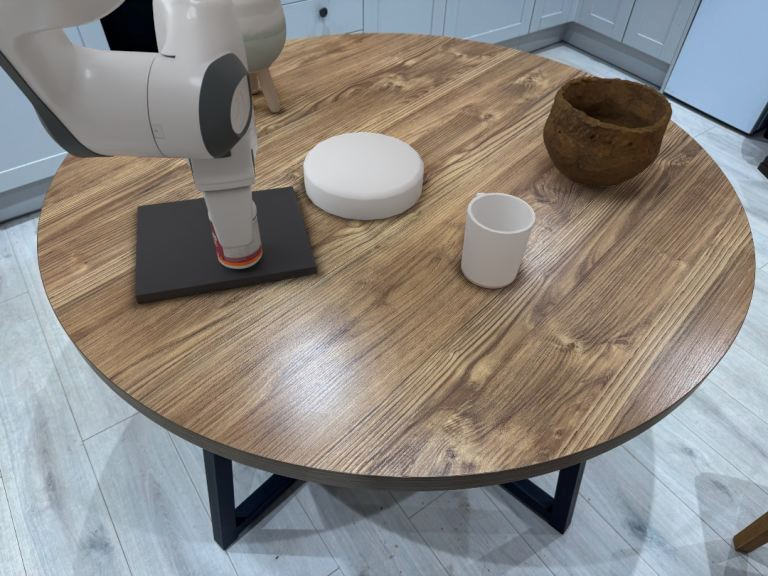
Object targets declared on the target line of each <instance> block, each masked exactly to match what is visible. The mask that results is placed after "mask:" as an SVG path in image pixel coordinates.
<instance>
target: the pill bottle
mask: <svg viewBox="0 0 768 576" xmlns="http://www.w3.org/2000/svg"><path fill="white" fill-rule="evenodd" d="M252 209H253V241H252V243H251V244H250V245H248V246H245V249H244V250H240V251H232V250H231V248H229V249H225V248H223V247H222V246H221V244H220V243H219V241H218V238H217V235H216V232H215V230H214V227H213V224H212V221H211V218H210V215H209V212H208V215H209V220H210V224H211V229H212V233H213V238H214V243H215V247H216V252H217V256H218V259H219V261H220V263H222V264H223V265H224V266H226V267H228V268H233V269H243V268H248V267H250V266H252V265H254V264H255V263H257V262H258V261H259V259H260V258H261V256H262V244H261V238H260V232H259V224H258V218H257V209H256V205H255V203H254V201H253V200H252Z"/></svg>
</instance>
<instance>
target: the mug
mask: <svg viewBox="0 0 768 576" xmlns="http://www.w3.org/2000/svg"><path fill="white" fill-rule="evenodd" d="M535 222H536V213H535V211H534V209H533V207H532V206H531V204H528V203H527V201H525V200H524V199H521V198H519V197H517V196H515V195H511V194H508V193H503V192H487V193H485V192H482V191H481V192H478V193H475V196H474V198H472V199H471V200H470V201H469V203H468V206H467V209H466V217H465V227H464V234H463V244H462V251H461V252H462V253H461V261H460V269H461V272H462V274H463V276H464V277H465V278H466V279H467V280H468V281H469V282H470V283H472V284H473V285H475V286H478V287H480V288H483V289H490V290H491V289H492V290H495V289H502V288H505V287H507V286H509V285H510V284H512V283H513V282H514V281H515V280H516V278H517V275H518V272H519V270H520V267H521V263H522V260H523V258H524V255H525V252H526V249H527V246H528V243H529V240H530V237H531V235H532V232H533V228H534V225H535Z"/></svg>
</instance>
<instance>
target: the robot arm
mask: <svg viewBox="0 0 768 576" xmlns="http://www.w3.org/2000/svg"><path fill="white" fill-rule="evenodd" d="M125 1H126V0H0V67H1V69H2V70H3V71H4V72H5V74H6V75H7V76H8V77H9V78H10V79H11V81H12V82H13V83H14V84H15V85H16V87H17V88H18V89H19V91H21V92H22V94H23V95H24V96H25V98H26V99H27V101H29V102H30V104H31V105H32V108H33V110H34V112H35V113H36V116H37V118H38V120H39V122H40V124H41V125H42V126H43V129H44V130H45V131H46V133H47V134H48V135H49V137H50V138H51V139H52V140H53V141H54V142H55V143H56V145H58V146H59V147H60V148H62V149H63V150H64V151H65V152H66V153H68V154H70V155H71V156H73V157H76V158H79V159H86V158H88V159H89V158H92V159H93V158H113V157H129V158H130V157H133V158H153V159H154V158H156V159H184V160H185V161H186V163H187V165H188V167H189V169H190V171H191V174H192V179H193V182H194V186H195V190H196V191H197V192H202V195H203V198H204V199H205V202H206V205H207V209H208V212H209V215H210V218H211V221H212V224H213V227H214V230H215V232H216V235H217V238H218V241H219V243H220V244H221V246H222V247H223V248H225V249H229V248H231V250H232V251H240V250H244V249H245V246H248V245H250V244H251V243H252V241H253V209H252V191H253V189H252V188H253V187H252V186H253V185H255V184H256V183H257V180H256V177H257V176H256V158H257V152H258V150H259V140H258V134H257V133H258V132H257V126H256V119H255V110H254V105H253V96H252V95H253V94H252V93H251V86H250V78H249V72H248V64H247V57H246V51H245V46H244V41H243V36H242V32H241V28H240V24H239V20H238V17H237V13H236V10H235V7H234V4H233V1H232V0H152V12H153V24H154V31H155V38H156V46H157V50H158V52H149V51H129V50H128V51H125V50H108V49H107V50H106V49H98V48H91V47H86V46H81V45H79V44H75V43H73V42H72V41H71V40H70V38H69V37H68V35H67V33H66V32H65V30H64V29H68V28H69V29H70V28H75V27H81V26H84V25H88V24H92V23H94V22H97V21H99V20H101V19H103V18H105V17H107V16H109V14H111V13H112V12H114V11H115V10H116V9H118V8H119V7H120V6H121V5H122V4H123V3H125Z"/></svg>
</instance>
